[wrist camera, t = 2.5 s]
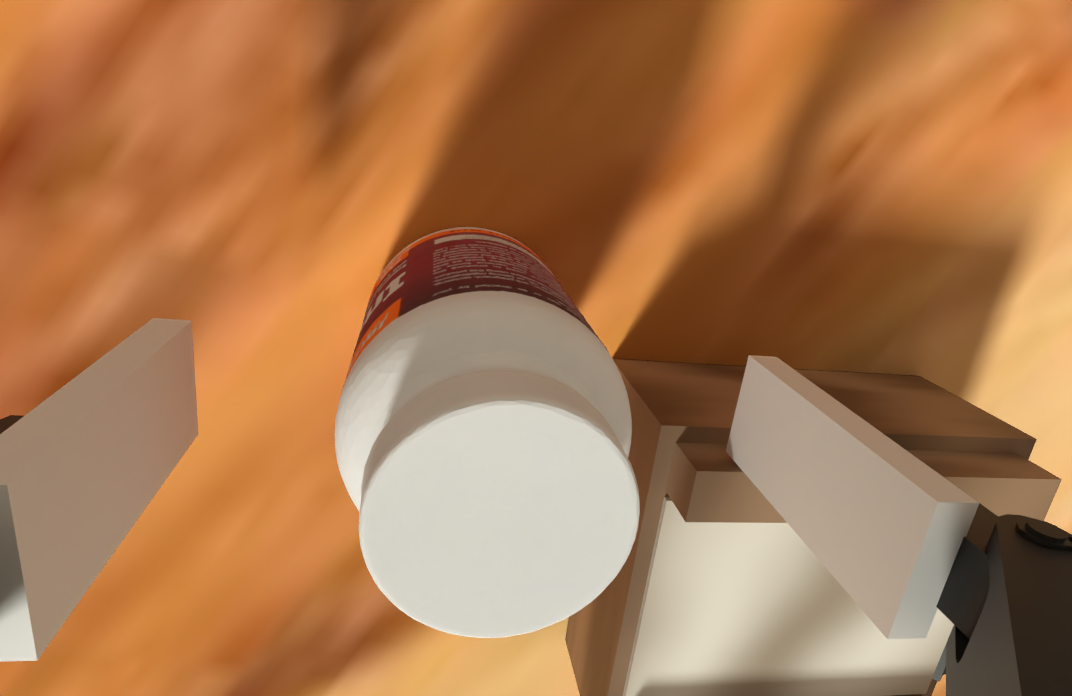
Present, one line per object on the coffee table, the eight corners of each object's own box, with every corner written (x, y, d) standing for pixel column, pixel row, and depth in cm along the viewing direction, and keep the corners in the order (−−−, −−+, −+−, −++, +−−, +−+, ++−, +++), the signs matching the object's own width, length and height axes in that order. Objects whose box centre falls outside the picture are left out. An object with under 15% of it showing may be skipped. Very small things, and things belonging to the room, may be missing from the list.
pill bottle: (367, 216, 19) (299, 337, 9) (570, 229, 20) (717, 351, 10) (366, 407, 21) (311, 684, 11) (551, 410, 22) (656, 663, 12)
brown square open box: (565, 639, 26) (607, 800, 20) (611, 358, 22) (681, 452, 16) (834, 632, 28) (945, 774, 22) (919, 376, 24) (1082, 464, 18)
